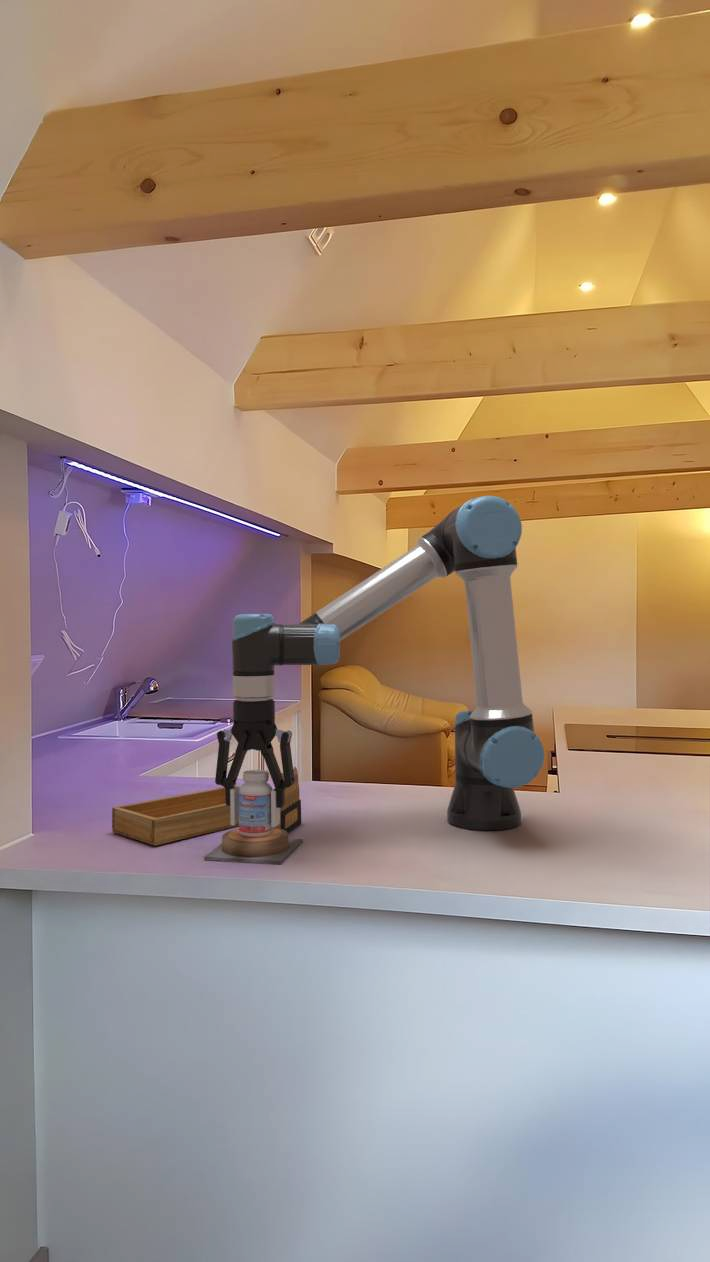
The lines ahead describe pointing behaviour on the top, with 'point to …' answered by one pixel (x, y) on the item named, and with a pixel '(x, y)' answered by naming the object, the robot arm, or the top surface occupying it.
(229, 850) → the plinth
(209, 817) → the tray
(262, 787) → the pill bottle
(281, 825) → the colored pencil set
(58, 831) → the top surface
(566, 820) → the top surface
